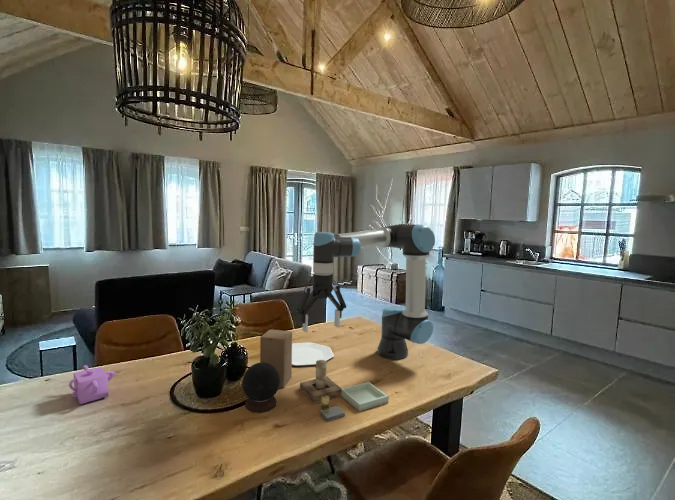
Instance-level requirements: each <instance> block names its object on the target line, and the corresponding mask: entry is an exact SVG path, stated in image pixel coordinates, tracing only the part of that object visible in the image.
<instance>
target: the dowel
mask: <svg viewBox="0 0 675 500" xmlns="http://www.w3.org/2000/svg"><path fill="white" fill-rule="evenodd" d="M327 363H328V362H327V361H325V360H318V361H316V365H315V379H316V389H317V390H322V389H325V388H326V376H327Z"/></svg>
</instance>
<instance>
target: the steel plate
mask: <svg viewBox="0 0 675 500" xmlns="http://www.w3.org/2000/svg"><path fill="white" fill-rule="evenodd" d="M345 413H346V412H345V411H343V410H342V409H341V408H340V407H339V406H338V405H335V406H331V407H329V408H328V409H325V410H322V409H321V410H319V415H320V416H321V418H323V419H324V420H325V421H326V422H330V421H333V420H336V419H340V418H344V417H345V416H346V415H345Z"/></svg>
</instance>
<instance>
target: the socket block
mask: <svg viewBox="0 0 675 500" xmlns="http://www.w3.org/2000/svg"><path fill="white" fill-rule="evenodd" d="M299 389H300V391H301V392H302V393H304V395H305V396H306V397H307V398H308V399H309V400H310V401H311V402H312V403H313V404H315V403H319V402H321V397H322V396H324V395H327V396H329V397H330V399H333V398H338V397H342V396H341V389H342V387H340V385H338V384H337V383H336V382H334V381H333V380H332V379H331V378H330V377H329V376H327V375H326V388H325V389H322V390H317V389H316V378H315V379H309V380H305V381H302V382H300V383H299Z"/></svg>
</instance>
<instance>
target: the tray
mask: <svg viewBox="0 0 675 500" xmlns="http://www.w3.org/2000/svg"><path fill="white" fill-rule="evenodd" d="M341 388H342V387H341ZM340 397H342V398H344V399H345V400H346V401H347V402H348V403H349V404H350V405H351V406H353V408H355V409H356V410H357V411H359V412H362V411H365V410H368V409H372V408H375V407H378V406H382V405H385V404H388V403H389V397H390V396H389V395H388V394H387V393H385V392H383V391H382V390H381V389H379V388H378V387H377V386H375V385H374V384H372V383H371V382H370V381H366V382H362V383H361V382H360V383H358V384H354V385H350V386H347V387H346V386H345V387H343V388H342V389H341V396H340Z"/></svg>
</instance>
